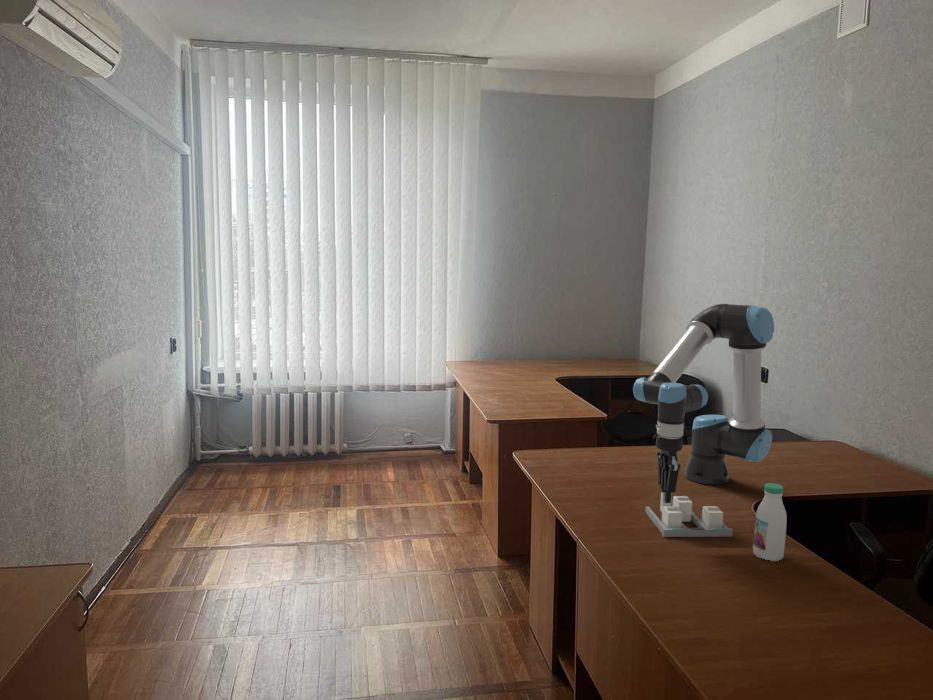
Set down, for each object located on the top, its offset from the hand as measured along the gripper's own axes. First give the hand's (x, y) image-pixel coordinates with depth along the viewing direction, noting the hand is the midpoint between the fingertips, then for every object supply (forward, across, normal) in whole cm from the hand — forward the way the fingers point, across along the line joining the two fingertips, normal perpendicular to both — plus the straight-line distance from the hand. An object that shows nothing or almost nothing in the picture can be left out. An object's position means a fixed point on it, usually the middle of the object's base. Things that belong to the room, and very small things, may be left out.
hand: (665, 511), depth 201 cm
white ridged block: (+3, -2, +6) cm, 7 cm away
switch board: (+4, +2, +6) cm, 8 cm away
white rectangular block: (+3, +6, +12) cm, 14 cm away
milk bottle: (+5, +21, +21) cm, 30 cm away
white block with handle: (+3, +6, 0) cm, 7 cm away
